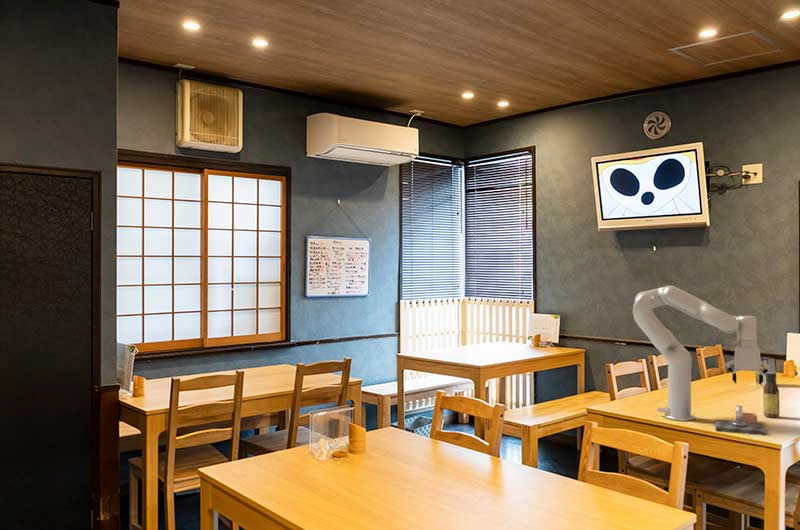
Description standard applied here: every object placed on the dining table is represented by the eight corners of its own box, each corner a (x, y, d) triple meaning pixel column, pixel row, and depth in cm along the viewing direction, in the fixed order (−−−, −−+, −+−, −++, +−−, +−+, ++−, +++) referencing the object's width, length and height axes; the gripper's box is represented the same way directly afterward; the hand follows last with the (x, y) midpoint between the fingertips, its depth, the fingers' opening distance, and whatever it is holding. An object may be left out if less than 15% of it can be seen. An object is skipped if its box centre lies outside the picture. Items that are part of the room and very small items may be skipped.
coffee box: (777, 386, 377) (777, 358, 377) (768, 387, 375) (768, 358, 375) (763, 383, 385) (763, 356, 386) (755, 384, 383) (755, 357, 384)
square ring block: (738, 423, 283) (738, 415, 283) (737, 419, 290) (737, 412, 290) (757, 424, 280) (757, 416, 280) (755, 421, 287) (755, 413, 287)
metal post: (731, 426, 271) (731, 406, 271) (731, 423, 277) (730, 404, 277) (747, 427, 269) (747, 407, 269) (746, 424, 274) (746, 405, 274)
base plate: (716, 430, 269) (716, 427, 269) (714, 422, 284) (714, 419, 284) (765, 435, 262) (765, 431, 262) (761, 426, 276) (761, 423, 276)
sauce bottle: (781, 418, 292) (781, 374, 292) (766, 418, 293) (766, 373, 294) (776, 415, 298) (776, 372, 299) (761, 415, 300) (761, 371, 300)
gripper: (725, 344, 285) (726, 383, 285) (770, 345, 278) (771, 385, 278) (724, 342, 292) (725, 381, 292) (768, 343, 285) (769, 383, 285)
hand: (747, 383), depth 285 cm, fingers open, 9 cm apart
